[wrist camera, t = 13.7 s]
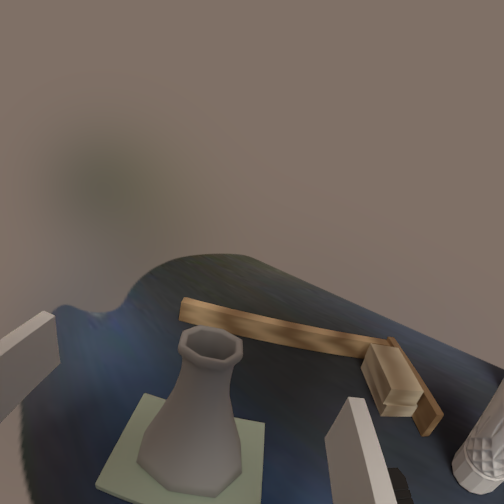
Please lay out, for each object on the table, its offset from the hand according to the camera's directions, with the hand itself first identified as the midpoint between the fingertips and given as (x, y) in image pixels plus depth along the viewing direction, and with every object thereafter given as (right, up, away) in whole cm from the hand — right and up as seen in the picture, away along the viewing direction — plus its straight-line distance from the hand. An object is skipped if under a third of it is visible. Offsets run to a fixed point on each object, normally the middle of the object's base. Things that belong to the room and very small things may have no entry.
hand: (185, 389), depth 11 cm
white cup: (+24, -15, +4) cm, 28 cm away
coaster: (-2, -9, +5) cm, 10 cm away
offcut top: (+18, -9, +17) cm, 26 cm away
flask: (-1, -8, +5) cm, 10 cm away
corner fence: (+7, -7, +18) cm, 21 cm away
